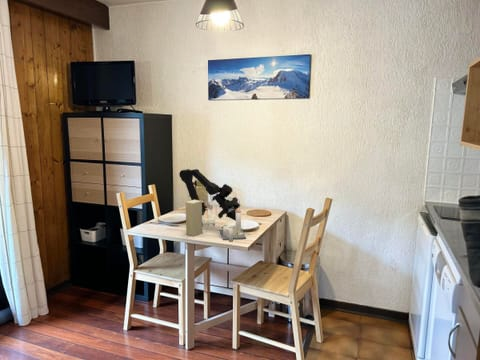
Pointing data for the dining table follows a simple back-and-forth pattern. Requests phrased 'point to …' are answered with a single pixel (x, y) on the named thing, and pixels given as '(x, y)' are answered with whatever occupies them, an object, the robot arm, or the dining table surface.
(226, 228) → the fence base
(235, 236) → the board
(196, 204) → the toy refrigerator
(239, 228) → the fence post
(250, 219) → the dining table surface
